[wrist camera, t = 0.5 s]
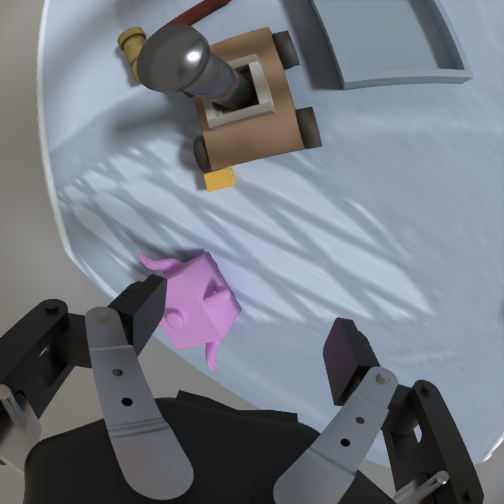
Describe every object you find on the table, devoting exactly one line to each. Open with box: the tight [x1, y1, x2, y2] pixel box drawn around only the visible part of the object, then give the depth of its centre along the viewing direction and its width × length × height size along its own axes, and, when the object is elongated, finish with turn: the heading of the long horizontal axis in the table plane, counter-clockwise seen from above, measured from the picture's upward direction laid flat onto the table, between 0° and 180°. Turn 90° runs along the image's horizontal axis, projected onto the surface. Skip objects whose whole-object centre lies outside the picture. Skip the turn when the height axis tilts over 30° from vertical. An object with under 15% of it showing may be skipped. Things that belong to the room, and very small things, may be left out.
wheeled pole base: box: [183, 27, 322, 173], centre depth 29 cm, size 16×15×8 cm
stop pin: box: [136, 24, 256, 111], centre depth 21 cm, size 5×5×15 cm
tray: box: [310, 0, 473, 90], centre depth 22 cm, size 18×18×4 cm
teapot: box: [139, 251, 242, 372], centre depth 39 cm, size 15×13×11 cm
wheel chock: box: [204, 166, 236, 192], centre depth 36 cm, size 4×3×3 cm
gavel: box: [118, 0, 231, 82], centre depth 29 cm, size 21×5×10 cm
